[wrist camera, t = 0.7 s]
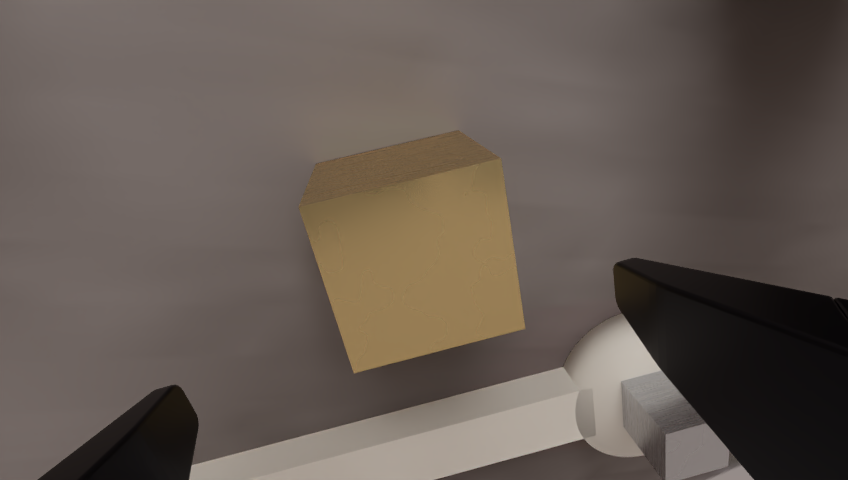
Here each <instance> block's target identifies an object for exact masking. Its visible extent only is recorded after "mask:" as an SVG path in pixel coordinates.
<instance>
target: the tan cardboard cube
mask: <svg viewBox="0 0 848 480" xmlns="http://www.w3.org/2000/svg"><path fill="white" fill-rule="evenodd" d="M299 210H300V213H301V216H302V219H303V222H304V225H305V228H306V231H307V234H308V237H309V240H310V243H311V246H312V249H313V252H314V255H315V258H316V261H317V264H318V267H319V270H320V273H321V276H322V279H323V282H324V285H325V288H326V291H327V294H328V297H329V300H330V303H331V306H332V309H333V312H334V315H335V318H336V321H337V324H338V327H339V330H340V333H341V336H342V339H343V342H344V345H345V348H346V351H347V354H348V357H349V360H350V363H351V366H352V369H353V372H354V373H357V372H361V371H365V370H369V369H372V368H376V367H380V366H384V365H388V364H392V363H395V362H399V361H403V360H407V359H411V358H415V357H419V356H422V355H426V354H430V353H434V352H438V351H442V350H445V349H449V348H453V347H457V346H461V345H465V344H468V343H472V342H476V341H480V340H484V339H488V338H492V337H495V336H499V335H503V334H507V333H511V332H515V331H518V330H522V329H525V324H524V317H523V309H522V302H521V295H520V288H519V281H518V274H517V267H516V260H515V253H514V246H513V239H512V232H511V225H510V218H509V211H508V204H507V197H506V190H505V183H504V176H503V169H502V162H501V158H500V157H498V156H496V155H495V154H493V153H492V152H490V151H489V150H487V149H486V148H484V147H483V146H481V145H480V144H478V143H477V142H475V141H474V140H472V139H471V138H469V137H468V136H466V135H465V134H463V133H462V132H460V131H459V130H458V131H454V132H449V133H445V134H441V135H437V136H432V137H428V138H424V139H420V140H415V141H411V142H407V143H403V144H398V145H394V146H390V147H386V148H381V149H377V150H373V151H369V152H364V153H360V154H356V155H352V156H347V157H343V158H339V159H335V160H330V161H326V162H322V163H318V164H316V165H315V168H314V170H313V173H312V175H311V178H310V180H309V183H308V185H307V188H306V190H305V192H304V195H303V197H302V200H301V202H300V205H299Z"/></svg>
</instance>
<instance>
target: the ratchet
mask: <svg viewBox="0 0 848 480" xmlns="http://www.w3.org/2000/svg"><path fill="white" fill-rule="evenodd" d="M581 439H585V440H586V442H587V443H588V444H589V445H591V446H592V447H593V448H595V449H597V450H598V451H600V452H603V453H605V454H608V455H612V456H618V457H636V456H643V455H645V457H646V458H647V459H648V461H649V462H650V463H651V465H652V466H653V468H654V469H655V470H656V472H657V473H658V474H659V476H660V477H661V478H662V480H681V479H685V478H688V477H692V476H696V475H699V474H703V473H706V472H710V471H713V470H717V469H720V468H724V467H727V466H728V460H729V450H728V448H727V447H726V446H725V445H724V444H723V443H722V441H721V440H720V439H719V438H718V437H717V435H716V434H715V433H714V432H713V431H712V430H711V428H710V427H709V426H708V425H707V424H706V423H705V421H704V420H703V419H702V418H701V417H700V415H699V414H698V413H697V412H696V411H695V410H694V408H693V407H692V406H691V405H690V404H689V403H688V401H687V400H686V399H685V398H684V397H683V395H682V394H681V393H680V392H679V391H678V390H677V388H676V387H675V386H674V385H673V384H672V383H671V381H670V380H669V379H668V378H667V377H666V375H665V374H664V373H663V372H662V370H661V369H660V368H659V367H658V365H657V364H656V362H655V361H654V360H653V358H652V357H651V355H650V354H649V352H648V351H647V349H646V348H645V346H644V345H643V343H642V342H641V340H640V339H639V337H638V336H637V335H636V333H635V332H634V330H633V329H632V327H631V326H630V324H629V323H628V321H627V320H626V318H625V317H624V315H623V314H619V315H616V316H614V317H612V318H609V319H607V320H605V321H604V322H602V323H600V324H599V325H597V326H596V327H594V328H593V329H592V330H590V331H589V332H588V333H587V334H586V335H585V336H583V337H582V339H581V340H580V341H579V342H578V343H577V344H576V345H575V347H574V348H573V349H572V351H571V352H570V354H569V356H568V357H567V359H566V361H565V364H564V366H563V367H561V368H557V369H553V370H549V371H546V372H542V373H538V374H534V375H531V376H527V377H523V378H519V379H516V380H512V381H508V382H504V383H500V384H497V385H493V386H489V387H485V388H482V389H478V390H474V391H470V392H467V393H463V394H459V395H455V396H451V397H448V398H444V399H440V400H436V401H433V402H429V403H425V404H421V405H418V406H414V407H410V408H406V409H402V410H399V411H395V412H391V413H387V414H384V415H380V416H376V417H372V418H369V419H365V420H361V421H357V422H353V423H350V424H346V425H342V426H338V427H335V428H331V429H327V430H323V431H320V432H316V433H312V434H308V435H304V436H301V437H297V438H293V439H289V440H286V441H282V442H278V443H274V444H271V445H267V446H263V447H259V448H255V449H252V450H248V451H244V452H240V453H237V454H233V455H229V456H225V457H222V458H218V459H214V460H210V461H206V462H203V463H199V464H195V465H192V467H191V472H190V478H189V480H435V479H439V478H443V477H446V476H450V475H454V474H457V473H461V472H464V471H468V470H472V469H475V468H479V467H483V466H486V465H490V464H494V463H497V462H501V461H505V460H508V459H512V458H516V457H519V456H523V455H526V454H530V453H534V452H537V451H541V450H545V449H548V448H552V447H556V446H559V445H563V444H567V443H570V442H574V441H578V440H581Z"/></svg>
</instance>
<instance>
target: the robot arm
mask: <svg viewBox="0 0 848 480" xmlns="http://www.w3.org/2000/svg"><path fill="white" fill-rule="evenodd" d="M613 274H614V286H615V298H616V302H617V305H618V307H619V309H620V311H621V312H622V314H623V315H624V317H625V318H626V320H627V321H628V323H629V324H630V326H631V327H632V329H633V330H634V332H635V333H636V335H637V336H638V337H639V339H640V340H641V342H642V343H643V345H644V346H645V348H646V349H647V351H648V352H649V354H650V355H651V357H652V358H653V360H654V361H655V362H656V364H657V365H658V367H659V368H660V369H661V370H662V372H663V373H664V374H665V375H666V377H667V378H668V379H669V380H670V381H671V383H672V384H673V385H674V386H675V387H676V388H677V390H678V391H679V392H680V393H681V394H682V395H683V397H684V398H685V399H686V400H687V401H688V403H689V404H690V405H691V406H692V407H693V408H694V410H695V411H696V412H697V413H698V414H699V415H700V417H701V418H702V419H703V420H704V421H705V423H706V424H707V425H708V426H709V427H710V428H711V430H712V431H713V432H714V433H715V434H716V435H717V437H718V438H719V439H720V440H721V441H722V443H723V444H724V445H725V446H726V447H727V448H728V450H729V451H730V452H731V453H732V454H733V455H734V457H735V458H736V459H737V460H738V461H739V463H740V464H741V465H742V466H743V467H744V468H745V469H746V471H747V472H748V473H749V474H750V475H751V477H752V478H753V479H754V480H848V300H846V299H841V298H835V299H833V298H832V297H830V296H826V295H820V294H815V293H810V292H805V291H800V290H795V289H790V288H785V287H780V286H775V285H770V284H765V283H760V282H755V281H750V280H745V279H740V278H735V277H730V276H725V275H720V274H715V273H710V272H705V271H699V270H694V269H689V268H684V267H679V266H674V265H669V264H664V263H659V262H654V261H649V260H644V259H639V258H631V259H627V260H623V261H620V262H617V263H616V264H615V265H614V268H613ZM198 426H199V424H198V417H197V414H196V412H195V411H194V409H193V407H192V405H191V404H190V402H189V400H188V398H187V397H186V395H185V393H184V391H183V390H182V389H181V387H179V386H177V385H170V386H167V387H163V388H160V389H156V390H154V391H153V392H151V393H150V394H149V395H147V396H146V397H145V398H143V399H142V400H141V401H140V402H138V403H137V404H136V405H134V406H133V407H132V408H130V409H129V410H128V411H127V412H125V413H124V414H123V415H121V416H120V417H119V418H117V419H116V420H115V421H113V422H112V423H111V424H110V425H108V426H107V427H106V428H104V429H103V430H102V431H100V432H99V433H98V434H97V435H95V436H94V437H93V438H91V439H90V440H89V441H87V442H86V443H85V444H83V445H82V446H81V447H80V448H78V449H77V450H76V451H74V452H73V453H72V454H70V455H69V456H68V457H67V458H65V459H64V460H63V461H61V462H60V463H59V464H57V465H56V466H55V467H53V468H52V469H51V470H50V471H48V472H47V473H46V474H44V475H43V476H42V477H40V478H39V479H38V480H189V478H190V472H191V467H192V461H193V455H194V450H195V444H196V438H197V433H198Z"/></svg>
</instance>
